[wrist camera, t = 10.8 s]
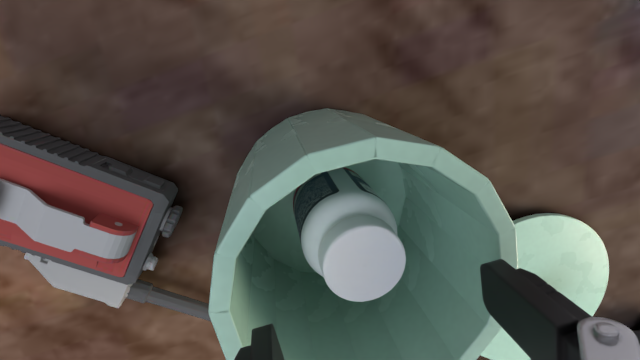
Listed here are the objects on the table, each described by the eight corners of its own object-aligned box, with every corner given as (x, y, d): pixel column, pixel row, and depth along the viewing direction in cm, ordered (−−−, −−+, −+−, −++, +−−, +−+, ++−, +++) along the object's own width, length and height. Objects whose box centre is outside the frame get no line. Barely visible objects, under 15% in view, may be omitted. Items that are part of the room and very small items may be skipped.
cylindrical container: (210, 135, 23) (160, 191, 12) (398, 89, 24) (510, 102, 13) (263, 297, 27) (261, 452, 16) (422, 253, 28) (524, 370, 17)
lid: (438, 235, 27) (483, 279, 22) (599, 190, 28) (685, 221, 23) (455, 370, 32) (498, 437, 26) (596, 327, 33) (667, 382, 27)
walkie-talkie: (-69, 227, 22) (237, 322, 27) (-147, 263, 18) (232, 368, 23) (-33, 96, 20) (287, 223, 25) (-111, 102, 16) (291, 253, 21)
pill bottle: (292, 236, 25) (305, 318, 17) (292, 164, 24) (306, 214, 15) (365, 233, 26) (413, 310, 17) (369, 163, 24) (424, 210, 16)
